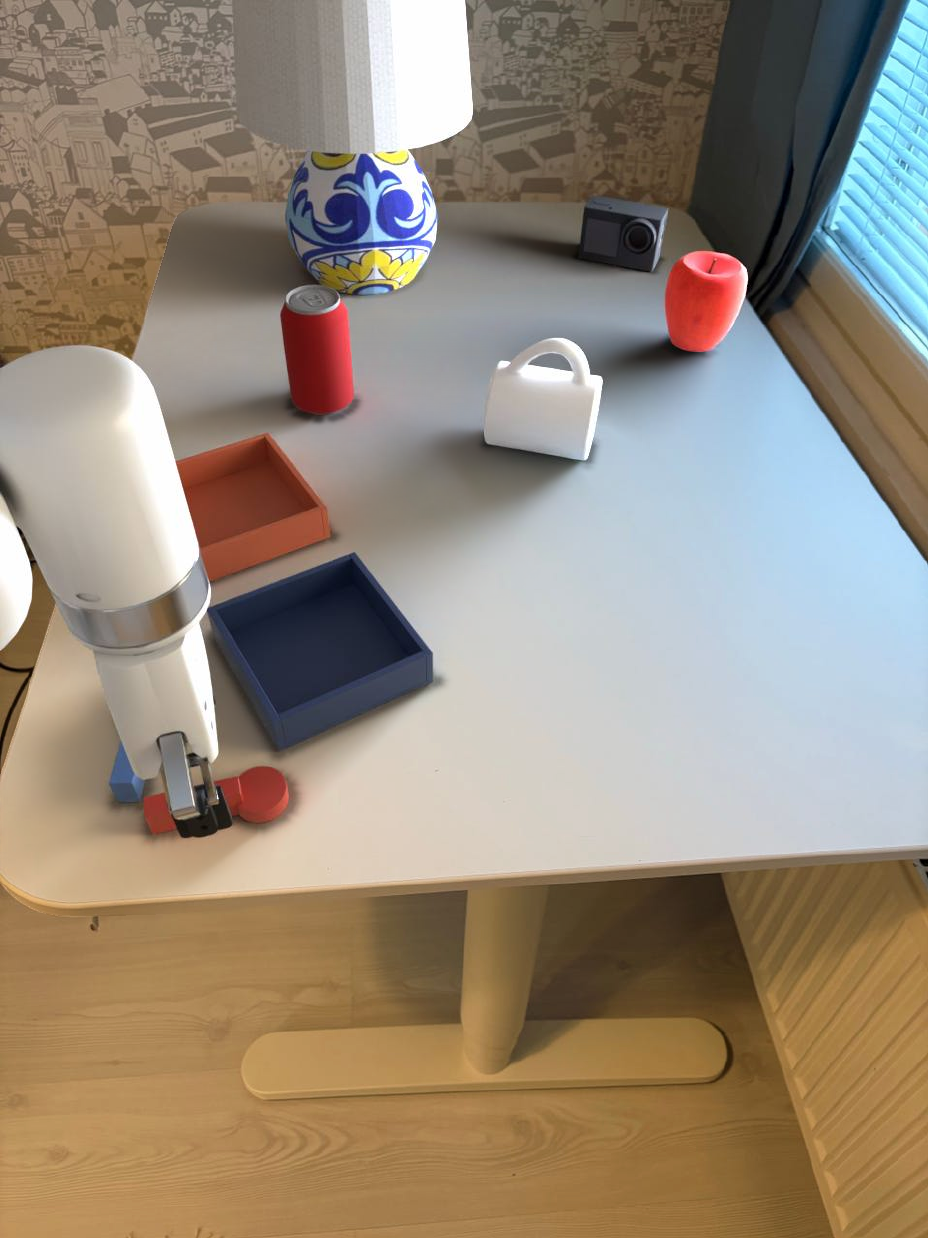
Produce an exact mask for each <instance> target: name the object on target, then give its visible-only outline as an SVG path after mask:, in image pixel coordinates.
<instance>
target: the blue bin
mask: <svg viewBox="0 0 928 1238" xmlns="http://www.w3.org/2000/svg"><path fill="white" fill-rule="evenodd" d="M206 613H207V617H208V621H209V623H210V627H211V628H210V629H211V632H212V637H213V639H214V641H215V642H216V644H217V646H218V647H219V649H220V651H221V653H222V655H223V656H224V658H225V660H226V661H227V663H228V665H229V666H230V668H231V670H232V673H234V676H235V677H236V679H237V680H238V682H239V684H240V686H241V688H242V689H243V691H244V693H245V695H246V696H247V698H248V700H249V702H250V703H251V705H252V706H253V708H254V711H255V713H256V714H257V716H258V717H259V719H260V721H261V722H262V724H263V727H264V728H265V729H266V732H267V733H268V736H269V737H270V738H271V740H272V741H273V743H274V745H275V747H276V749H277V750H278V752H281V751H284V750H286V749H288V748H290V747H293V746H295V745H297V744H300V743H301V742H304V741H306V740H309V739H310V738H312V737H315V736H317V735H319V734H322V733H324V732H326V731H328V730H330V729H332V728H334V727H336V726H339V725H341V724H343V723H346V722H348V721H350V720H352V719H354V718H356V717H358V716H361V715H362V714H365V713H367V712H369V711H372V710H374V709H376V708H378V707H381V706H383V705H384V704H386V703H389V702H391V701H393V700H396V699H398V698H400V697H402V696H404V695H406V694H409V693H411V692H413V691H416V690H418V689H420V688H422V687H424V686H427V685H428V684H431V683H433V682H434V652H433V650H432V649H431V648H430V647H429V646H428V645H427V643H426V642H425V641H424V639H423V638H422V637H421V635H420V634H419V633H418V632H417V630H416V629H415V628H414V626H413V625H412V624H411V623H410V621H409V620H408V619H407V618H406V616H405V615H404V614H403V612H402V611H401V609H400V608H399V607H398V606H397V604H396V603H395V602H394V600H393V599H392V597H390V596H389V594H388V593H387V591H386V590H385V589H384V588H383V586H382V585H381V584H380V583H379V581H378V580H377V579H376V578H375V576H374V574H372V572H371V571H370V569H369V568H368V567H367V566H366V564H365V563H364V562H363V561H362V559H361V558H360V557H359V555H358V554H357V553H356V552H355V551H353V552H350V553H348V554H345V555H342V556H340V557H337V558H334V559H331V560H329V561H327V562H324V563H322V564H319V565H315V566H313V567H311V568H308V569H307V570H303V571H301V572H298V573H295V574H293V575H290V576H287V577H285V578H281V579H279V580H276V581H274V582H271V583H269V584H267V585H264V586H261V587H259V588H255V589H253V590H251V591H248V592H246V593H242V594H240V595H238V596H234V597H232V598H230V599H227V600H224V601H222V602H219V603H216V604H214V605H210V606H208V608H207V611H206Z"/></svg>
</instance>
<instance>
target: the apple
mask: <svg viewBox="0 0 928 1238" xmlns="http://www.w3.org/2000/svg"><path fill="white" fill-rule="evenodd" d="M748 278H749V277H748V272H747V268H746V267H745V265H743V263H741V262H740V261H739V260H738V259H737V258H735V257H733V256H731V255H729V254H727V253H720V252H715V251H707V250H700V251H699V250H697V251H693V252H690V253H688V254H686V255H683V256H681V257H680V258H679V259H678V260H677V261H676V262H674V263H673V265H672V267H671V269H670V271H669V274H668V277H667V282H666V285H665V290H664V291H665V292H664V311H665V322H666V327H667V331H668V332H667V333H668V335H669V339H670V341H671V344H672V346H673V345H674V347H676V348H678V349H681V350H682V351H686V352H694V353H703V352H708V351H711V350H713V349H714V348H715V347H716V346H717V345H719V344H720V342H721V341H722V340H723V339H725V337H726V336H727V335H728V332H729V331H730V330H731V328H732V327H733V325H734V323H735V321H736V319H737V317H738V315H739V314H740V310H741V308H742V305H743V303H744V300H745V297H746V293H747V288H748V287H747V285H748V281H749V279H748Z"/></svg>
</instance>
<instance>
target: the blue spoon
mask: <svg viewBox="0 0 928 1238" xmlns="http://www.w3.org/2000/svg"><path fill="white" fill-rule="evenodd" d="M145 783H146V780H142V779H140V778H139V777H137V776H136V775H135V774H134V772H133V770H132V767H131V765H130V762H129V759H128V757H127V754H126V752H125V749H124V746H123V744H122V741H121V740H120V743H119V746H118V749H117V753H116V757H115V761H114V764H113V768H112V771H111V774H110V778H109V782H108V785H109V787H110V789H111V791H112V793H113V795H114V797H115V799H116V801H117V803H140V802H141V799H142V795H143V791H144V789H145Z"/></svg>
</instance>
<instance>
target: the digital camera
mask: <svg viewBox="0 0 928 1238" xmlns="http://www.w3.org/2000/svg"><path fill="white" fill-rule="evenodd" d="M668 213H669V207H663V206H658V205H653V204H647V203H642V202H636V201H630V200H625V199H618V198H612V197H606V196H600V195H594V194H592V195H591V196H590V198H589V199H588V200H587V202H586V204H585V205H584V208H583V214H582V223H581V230H580V231H581V232H580V240H579V248H578V258H579V259H583V260H588V261H593V262H598V263H604V264H609V265H613V266H619V267H624V268H630V269H636V270H641V271H646V272H654V269H655V267H656V265H657V264H658V263H659V260H660V256H661V255H660V254H661V249H662V246H663V245H662V244H663V240H664V235H665V229H666V225H667V219H668Z"/></svg>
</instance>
